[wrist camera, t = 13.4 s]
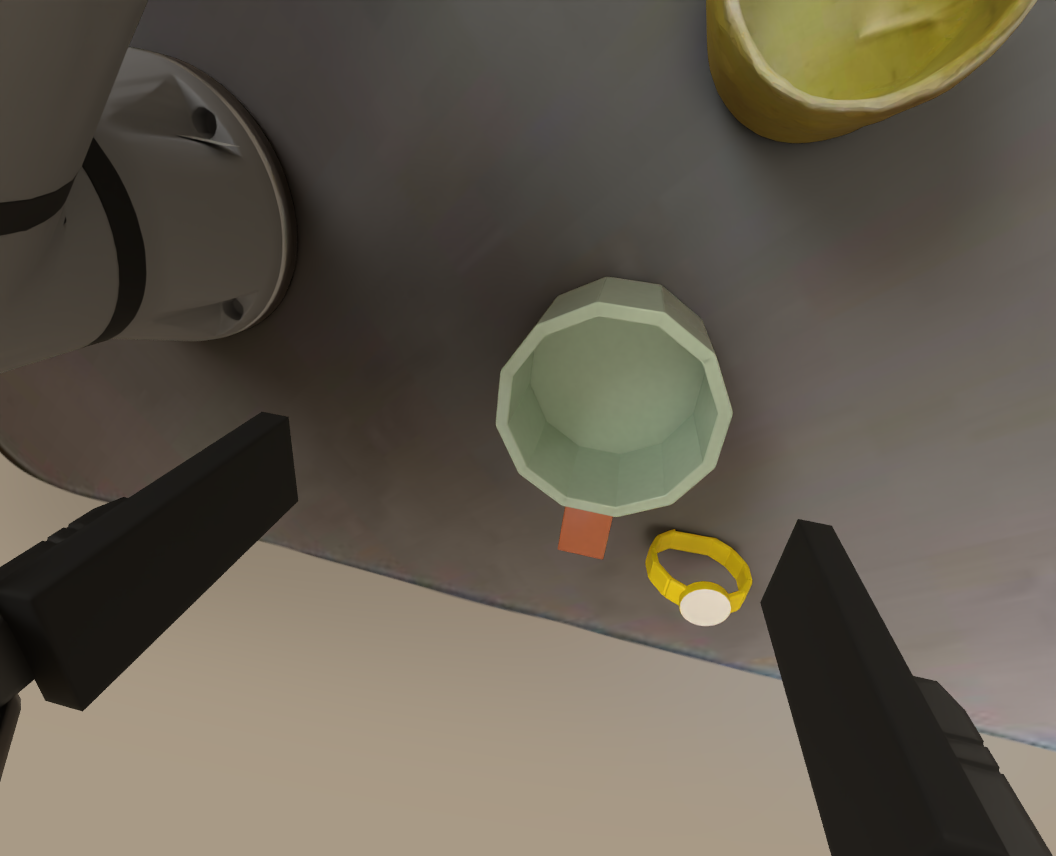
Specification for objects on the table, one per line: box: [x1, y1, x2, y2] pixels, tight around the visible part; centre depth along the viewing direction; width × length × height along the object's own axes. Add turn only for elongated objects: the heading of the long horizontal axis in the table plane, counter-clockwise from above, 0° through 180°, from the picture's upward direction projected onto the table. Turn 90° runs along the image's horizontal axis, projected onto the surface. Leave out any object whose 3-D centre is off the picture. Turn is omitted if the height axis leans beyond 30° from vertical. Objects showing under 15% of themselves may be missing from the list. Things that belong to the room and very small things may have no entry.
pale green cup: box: [496, 277, 733, 559], centre depth 26 cm, size 13×10×6 cm
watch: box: [645, 529, 752, 626], centre depth 31 cm, size 6×3×6 cm, turn 82°
